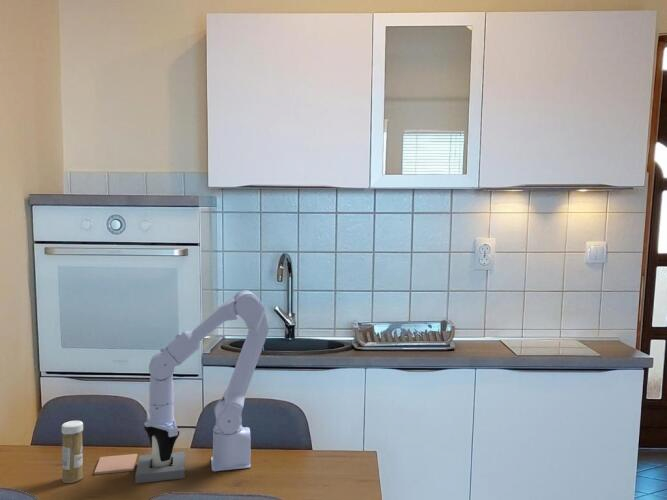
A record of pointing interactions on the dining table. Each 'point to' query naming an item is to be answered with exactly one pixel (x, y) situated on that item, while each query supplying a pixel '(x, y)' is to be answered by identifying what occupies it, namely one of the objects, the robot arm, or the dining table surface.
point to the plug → (157, 456)
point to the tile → (116, 464)
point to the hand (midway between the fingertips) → (161, 456)
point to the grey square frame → (160, 469)
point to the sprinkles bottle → (72, 451)
